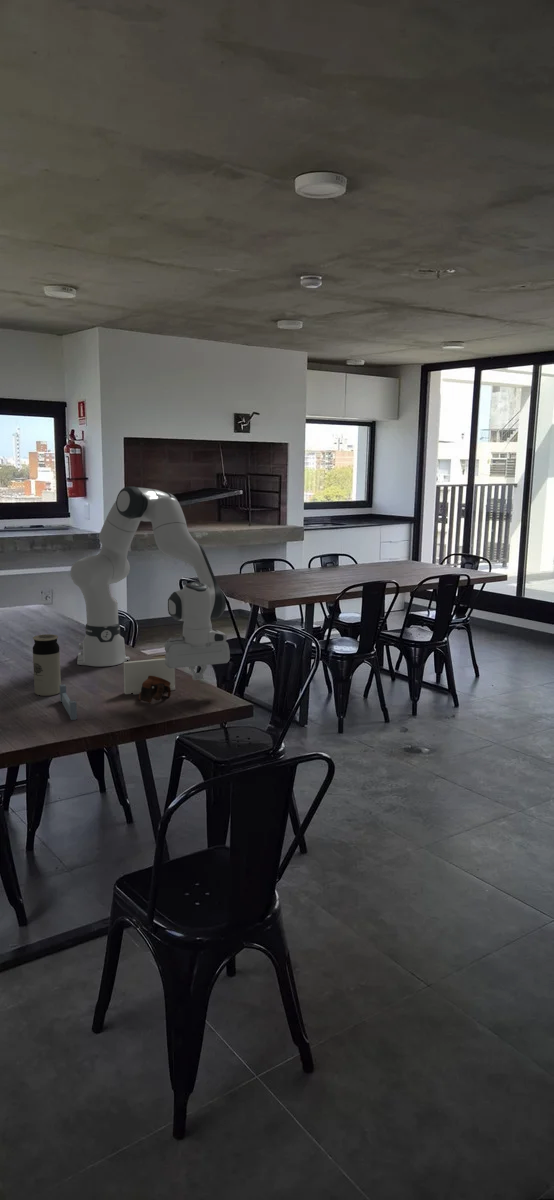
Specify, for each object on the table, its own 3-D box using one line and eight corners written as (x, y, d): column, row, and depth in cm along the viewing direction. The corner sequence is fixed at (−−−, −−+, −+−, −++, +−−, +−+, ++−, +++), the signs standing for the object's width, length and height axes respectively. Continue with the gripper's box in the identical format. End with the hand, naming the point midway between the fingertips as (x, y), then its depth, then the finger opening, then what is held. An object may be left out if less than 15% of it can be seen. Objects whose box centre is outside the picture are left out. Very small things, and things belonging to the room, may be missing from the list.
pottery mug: (132, 699, 248) (141, 674, 250) (159, 709, 251) (168, 684, 254) (145, 699, 237) (154, 673, 239) (173, 709, 241) (182, 683, 243)
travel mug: (54, 687, 257) (52, 632, 254) (65, 693, 251) (63, 637, 248) (30, 692, 252) (27, 636, 249) (41, 698, 246) (38, 640, 243)
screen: (123, 692, 253) (122, 661, 252) (172, 686, 260) (172, 656, 258) (126, 695, 250) (125, 664, 248) (176, 689, 256) (175, 659, 254)
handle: (60, 700, 244) (59, 684, 243) (65, 700, 244) (64, 684, 243) (71, 720, 226) (70, 703, 225) (77, 719, 226) (76, 702, 225)
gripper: (167, 640, 240) (168, 685, 243) (231, 635, 249) (231, 678, 251) (161, 636, 246) (162, 680, 249) (224, 631, 254) (224, 673, 257)
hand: (197, 679), depth 250 cm, fingers closed
